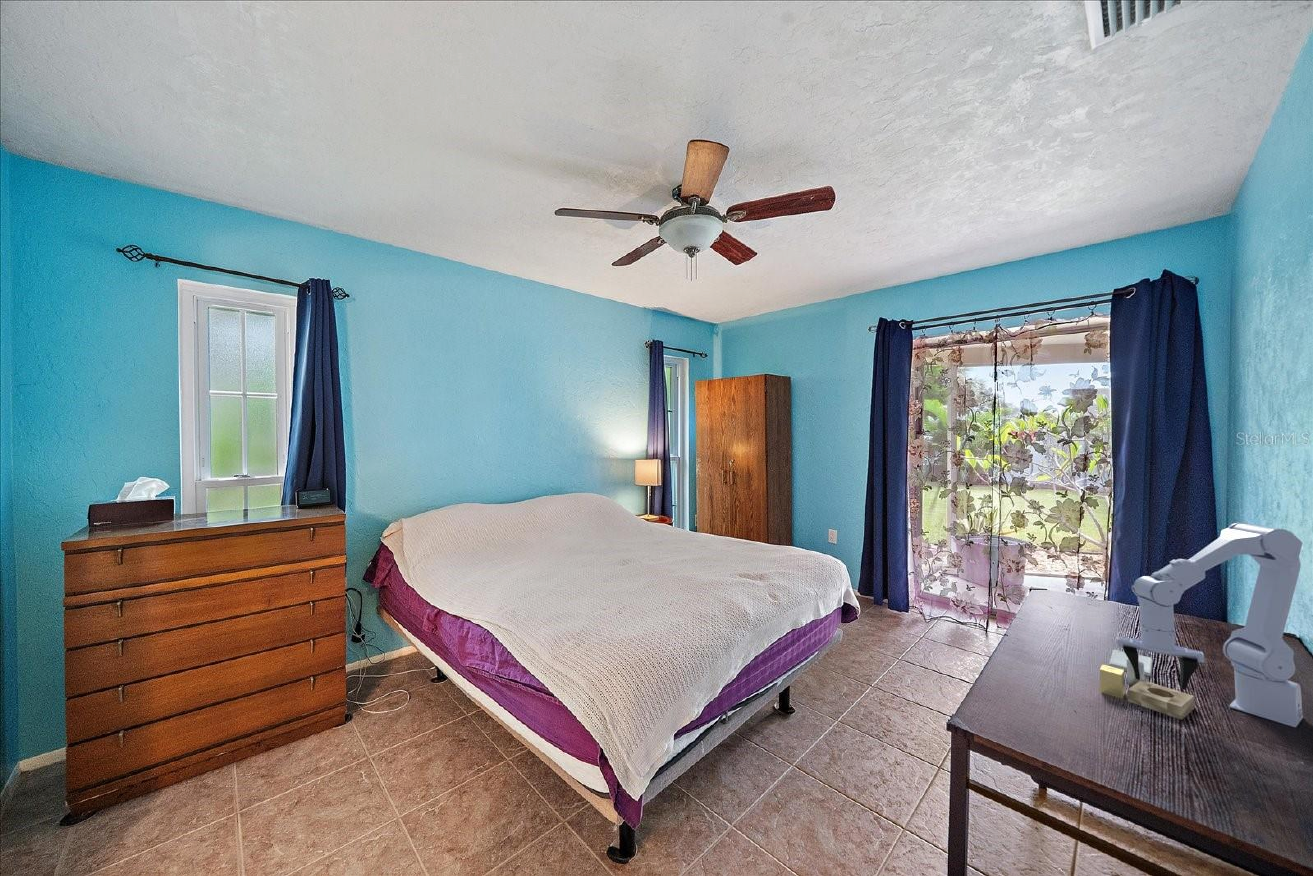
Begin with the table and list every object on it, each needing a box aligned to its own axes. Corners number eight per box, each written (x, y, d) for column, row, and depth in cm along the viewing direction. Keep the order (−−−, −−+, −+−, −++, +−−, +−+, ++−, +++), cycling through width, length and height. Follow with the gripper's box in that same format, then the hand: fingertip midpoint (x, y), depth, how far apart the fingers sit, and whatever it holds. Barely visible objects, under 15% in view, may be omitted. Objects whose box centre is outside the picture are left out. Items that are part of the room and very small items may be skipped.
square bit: (1125, 693, 118) (1124, 670, 119) (1122, 699, 116) (1121, 675, 116) (1103, 687, 122) (1102, 664, 122) (1100, 692, 119) (1099, 669, 119)
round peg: (1146, 685, 122) (1145, 663, 122) (1142, 689, 120) (1141, 666, 120) (1130, 680, 124) (1129, 658, 124) (1125, 683, 123) (1124, 661, 123)
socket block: (1194, 708, 111) (1193, 695, 111) (1181, 720, 107) (1181, 707, 107) (1142, 691, 119) (1141, 679, 119) (1128, 701, 115) (1127, 689, 115)
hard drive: (1112, 649, 140) (1109, 662, 132) (1152, 657, 134) (1150, 672, 126) (1113, 654, 140) (1109, 668, 132) (1152, 663, 134) (1151, 678, 126)
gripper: (1198, 629, 111) (1201, 685, 111) (1114, 615, 121) (1116, 667, 121) (1205, 638, 106) (1208, 698, 106) (1117, 624, 116) (1119, 678, 115)
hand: (1159, 682), depth 113 cm, fingers open, 7 cm apart
